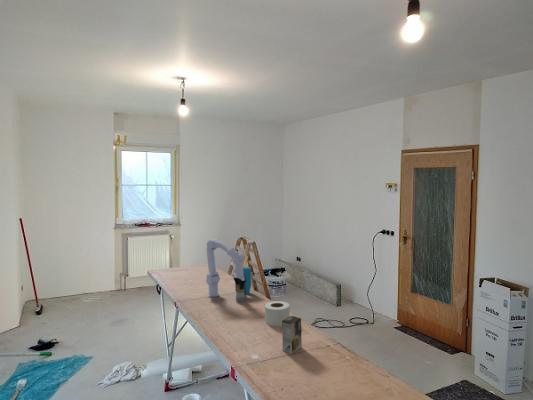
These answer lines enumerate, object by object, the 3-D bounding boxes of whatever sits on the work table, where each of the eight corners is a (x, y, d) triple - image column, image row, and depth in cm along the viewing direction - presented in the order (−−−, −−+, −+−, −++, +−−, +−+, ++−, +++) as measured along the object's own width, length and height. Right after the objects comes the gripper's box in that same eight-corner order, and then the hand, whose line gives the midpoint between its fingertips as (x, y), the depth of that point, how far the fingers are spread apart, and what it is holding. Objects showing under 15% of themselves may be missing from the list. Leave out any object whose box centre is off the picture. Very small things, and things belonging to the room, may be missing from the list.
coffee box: (292, 344, 209) (291, 315, 208) (302, 347, 205) (301, 317, 204) (282, 350, 202) (281, 320, 201) (292, 354, 198) (291, 323, 197)
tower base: (235, 299, 289) (235, 295, 289) (243, 299, 290) (243, 294, 290) (236, 302, 283) (236, 297, 283) (244, 301, 284) (244, 297, 284)
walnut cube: (235, 291, 287) (235, 284, 287) (241, 290, 289) (241, 283, 289) (238, 292, 282) (237, 286, 282) (244, 291, 285) (244, 285, 284)
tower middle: (236, 295, 289) (236, 290, 289) (244, 294, 289) (244, 290, 289) (236, 297, 283) (236, 292, 283) (244, 297, 283) (244, 292, 283)
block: (249, 291, 309) (248, 266, 308) (251, 293, 304) (251, 268, 303) (235, 293, 304) (234, 268, 303) (237, 295, 300) (236, 269, 298)
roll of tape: (287, 327, 234) (287, 309, 233) (262, 325, 237) (262, 308, 236) (291, 317, 249) (291, 301, 248) (267, 316, 252) (267, 300, 252)
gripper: (230, 268, 290) (231, 286, 290) (237, 272, 277) (238, 291, 277) (239, 267, 293) (239, 285, 293) (246, 271, 280) (247, 290, 280)
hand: (239, 288), depth 286 cm, fingers open, 7 cm apart
